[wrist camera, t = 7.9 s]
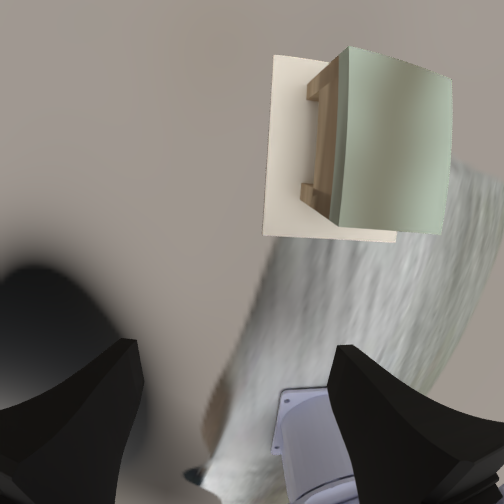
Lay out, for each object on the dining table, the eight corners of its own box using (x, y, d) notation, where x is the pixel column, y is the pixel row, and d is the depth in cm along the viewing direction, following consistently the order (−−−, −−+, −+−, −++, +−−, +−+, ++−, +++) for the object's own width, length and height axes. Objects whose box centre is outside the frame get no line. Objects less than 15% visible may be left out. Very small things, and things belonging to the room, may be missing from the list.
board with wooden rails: (383, 98, 16) (451, 79, 9) (375, 206, 18) (440, 235, 11) (306, 84, 15) (348, 45, 9) (299, 199, 17) (338, 226, 11)
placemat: (392, 241, 19) (395, 242, 19) (261, 234, 18) (262, 235, 18) (405, 83, 16) (408, 82, 15) (273, 56, 15) (273, 54, 15)
